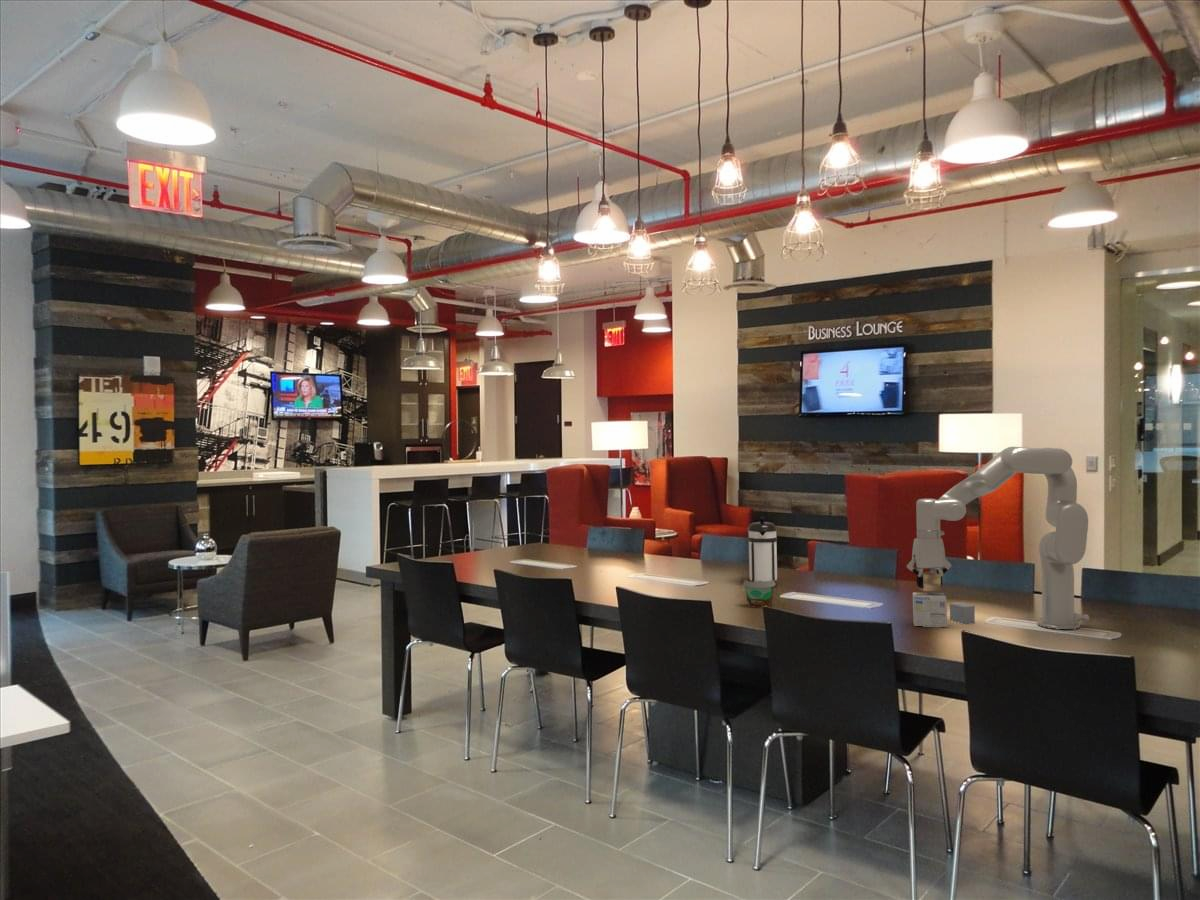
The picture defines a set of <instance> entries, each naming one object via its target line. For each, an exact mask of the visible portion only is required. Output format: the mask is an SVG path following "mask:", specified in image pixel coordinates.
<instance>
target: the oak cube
mask: <svg viewBox="0 0 1200 900" xmlns="http://www.w3.org/2000/svg"><path fill="white" fill-rule="evenodd" d="M922 577H923V589H921V588H919V587H918V586H917V588H918V589H919V590H921V591H923V592H940V591H942V585H941V575H940V574H938V573H936V571H923V573H922Z"/></svg>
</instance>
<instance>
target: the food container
mask: <svg viewBox="0 0 1200 900" xmlns="http://www.w3.org/2000/svg"><path fill="white" fill-rule="evenodd" d="M743 586H744V587H745V593H746V602H747V606H748V605H750V606H755V607H762V606H765V605H767V606H771V605H772V606H773V599H774V590H775V589H774V586H775V582H774V580H773V581H770V582H764V581H754V582H751V581H749V580H746V579H744V580H743ZM775 587H776V586H775ZM750 606H749V607H750ZM772 606H771V607H772ZM755 607H754V608H755Z"/></svg>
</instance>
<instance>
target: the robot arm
mask: <svg viewBox="0 0 1200 900" xmlns="http://www.w3.org/2000/svg"><path fill="white" fill-rule="evenodd" d="M1072 465H1073V458H1072V455H1071V454H1070V452H1069V451H1067V450H1065V449H1063V448H1060V447H1057V448H1056V447H1041V448H1040V447H1038V448H1037V447H1023V446H1008V447H1006V448H1003V450H1001V451H1000V452H999V453H998V454H996V455H995V456H993V458H991V459H990V460H989V461H988V462H987V463H985V464H984V465H982V467H981V468H979V469H978V470H976V471H975V472H974V473H973V474H970V475H968V477H966V478H964V479H963V480H962V481H960V482H958V483H957V484H955V485H953V486H952V487H951V488H950V489H949V490H948V491H946V492H945V493H944V494H942V495H941V496H940V497H939V498H938V499H937V498H936V499H935V498H919V499H918V500H916V503H915V505H916V507H915V508H916V509H915V510H916V538H914V539H913V544H912V554H911V560H910V561H909V562H908V563H907V565H906V568H907V569H908V570H909V571H911V572H912V573H913V574H914V575H915V576H916V586H917V588H918V587H919V588H921V589H923V577H922V573H923V572H924V569H935V572H936V573H938V574H940V575H941V586H943V577H944V574H946V573H947V572H948V570H949V569H950V568H951V567H952V564H951V563H950V561H949V560H948V559H947V558H946V550H945V545H944V540H943V538H942V536H944V535H945V530H941V520H943V521H944V520H945V521H951V522H953V521H954V522H955V521H960V520H961V519H963V518H964V517H965V516H966V514H967V507H966V505H968V504H969V503H970V502H972V501H973V500H975V499H977V498H980V497H983V496H986V495H989V494H992V493H993V492H995V491H996V490H998V489H999V488H1000V487H1001V486H1003V484H1005V483H1006V482H1007V481H1008V480H1010V479H1011V478H1012V477H1014V476H1015V475H1016V474H1017V473H1018V474H1019V473H1020V474H1033V475H1035V474H1036V475H1037V474H1039V475H1044V477H1045V479H1046V480H1047V481H1046V482H1047V498H1046V500H1047V501H1046V507H1045V508H1046V509H1045V519H1046V521H1047V523H1048V524H1049V526H1052V527H1054V528H1055V531H1049V532H1048V533H1045V534H1043V536H1042V537H1041V539H1040V541H1039V543H1038V550H1039V558H1040V563H1041V564H1040V565H1041V611H1042V612H1041V613H1042V614H1041V617H1042V618H1040V619H1038V620H1037V621H1036V624H1037V626H1039V625H1040V627H1042V626H1043V627H1042V628H1045V627H1048V628H1047V629H1050V628H1058V629H1057V630H1059V629H1073V630H1076V629H1075V628H1078V629H1079V627H1080V628H1081V626H1080V625H1081V624H1080V623H1079V622H1080V621H1083V622H1084V621H1089V620H1090V616H1089V614H1080V613H1077V612H1075V570H1074V565H1075V564H1078V563H1079V562H1080V561H1082V560H1083V558H1084V555H1085V553H1086V549H1087V548H1086V547H1087V542H1088V541H1087V540H1088V530H1089V516H1088V513H1087V510H1086V509H1085V508H1084V507H1083V505H1081V504H1079V503H1078V502H1077V498H1078V497H1077V495H1078V493H1077V491H1078V481H1077V477H1076V474H1075V471H1074V470H1073V468H1072ZM919 588H918V589H919ZM921 589H920V590H921Z"/></svg>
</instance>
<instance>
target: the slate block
mask: <svg viewBox="0 0 1200 900" xmlns="http://www.w3.org/2000/svg"><path fill="white" fill-rule="evenodd" d="M975 610H976V609H975V605H972V604H968V603H965V602H959V601H958V602H951V603H949V620H950V621H951V620H953V621H952V622H955V621H956V623H958V622H959V624H961V623H962V624H961V625H969V624H968V623H973V624H975V623H976V622H975V621H976V618H975V617H976V616H975V615H976V612H975Z"/></svg>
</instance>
